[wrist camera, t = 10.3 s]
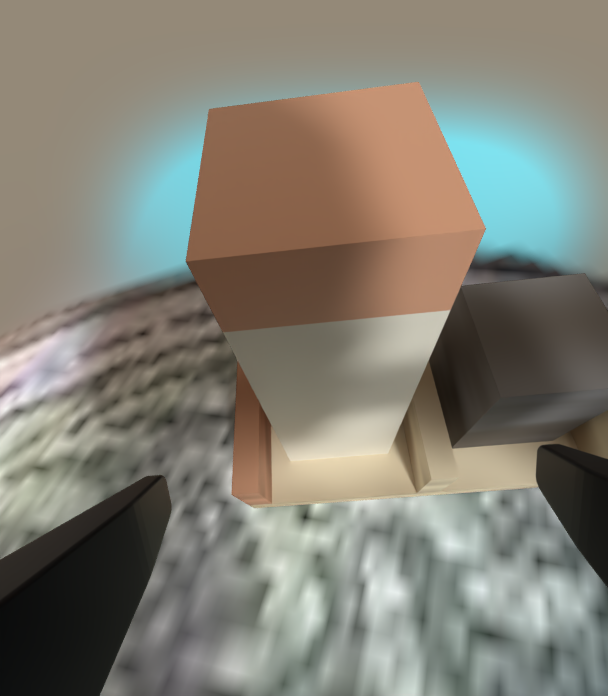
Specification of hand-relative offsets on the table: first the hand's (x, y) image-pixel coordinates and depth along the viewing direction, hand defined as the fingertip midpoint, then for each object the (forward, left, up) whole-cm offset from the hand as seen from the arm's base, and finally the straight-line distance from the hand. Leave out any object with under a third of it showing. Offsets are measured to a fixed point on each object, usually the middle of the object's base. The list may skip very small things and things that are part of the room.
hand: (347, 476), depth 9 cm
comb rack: (-1, -6, -9) cm, 11 cm away
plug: (+2, -4, -8) cm, 9 cm away
